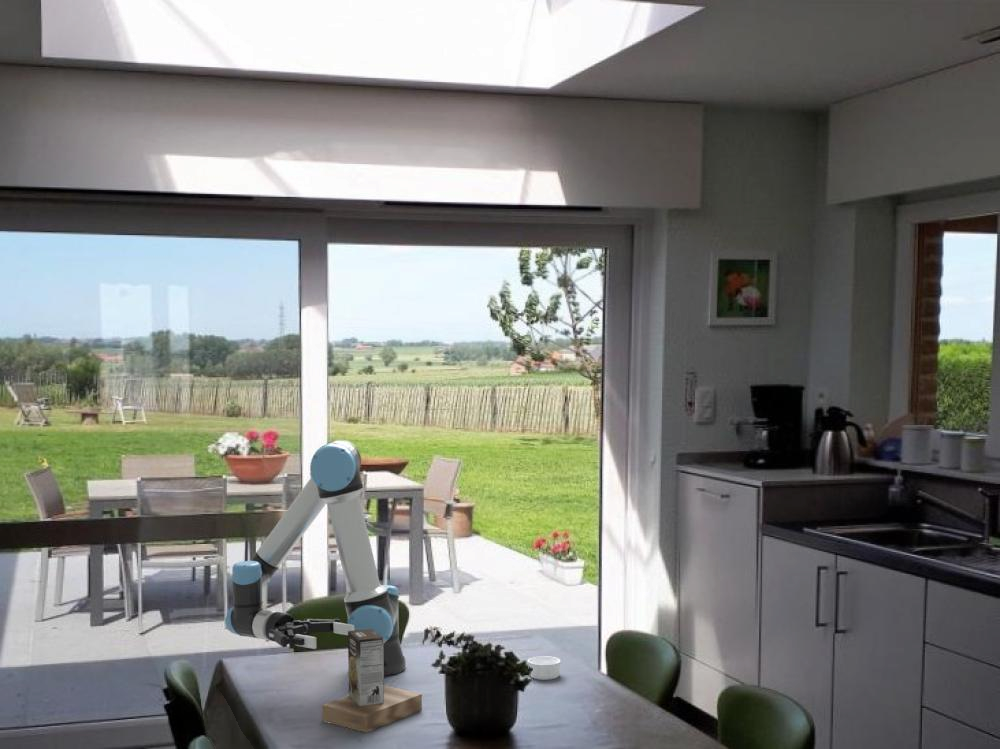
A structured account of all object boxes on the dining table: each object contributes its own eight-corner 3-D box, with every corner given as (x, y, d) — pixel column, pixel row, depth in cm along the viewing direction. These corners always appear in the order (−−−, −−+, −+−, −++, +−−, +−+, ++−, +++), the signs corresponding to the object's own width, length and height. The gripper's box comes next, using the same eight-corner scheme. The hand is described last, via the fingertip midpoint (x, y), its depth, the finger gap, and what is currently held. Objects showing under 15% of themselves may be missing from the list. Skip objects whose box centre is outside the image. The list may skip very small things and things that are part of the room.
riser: (379, 699, 301) (379, 684, 301) (421, 710, 292) (421, 694, 292) (322, 721, 285) (322, 704, 285) (365, 732, 277) (365, 715, 276)
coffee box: (347, 696, 291) (346, 630, 290) (373, 692, 294) (372, 627, 293) (359, 707, 283) (358, 639, 282) (384, 703, 285) (384, 636, 285)
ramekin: (526, 671, 325) (526, 656, 324) (559, 671, 325) (559, 655, 325) (528, 681, 316) (528, 665, 316) (562, 680, 316) (562, 664, 316)
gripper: (309, 629, 319) (369, 640, 307) (238, 652, 299) (299, 664, 286) (308, 602, 319) (367, 611, 306) (237, 622, 298) (298, 633, 286)
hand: (334, 636), depth 296 cm, fingers open, 13 cm apart
